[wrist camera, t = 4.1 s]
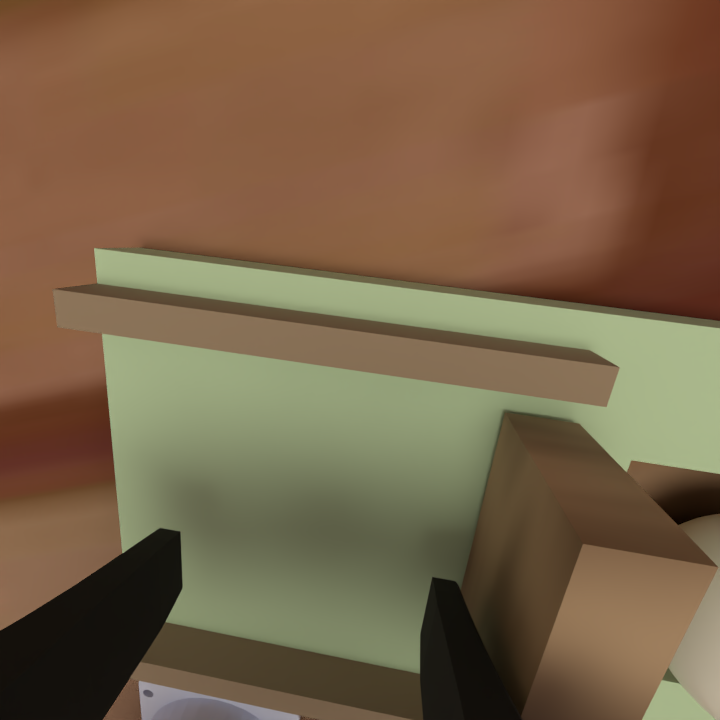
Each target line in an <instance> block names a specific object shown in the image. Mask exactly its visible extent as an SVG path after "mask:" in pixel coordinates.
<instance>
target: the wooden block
mask: <svg viewBox="0 0 720 720" xmlns="http://www.w3.org/2000/svg"><path fill="white" fill-rule="evenodd" d="M718 568H719V567H718V566H717V565H716V564H715V563H714V562H713V561H712V560H711V559H710V558H709V557H708V556H707V555H706V554H705V553H704V552H703V551H702V550H701V549H700V548H699V546H698V545H697V544H696V543H695V542H694V541H693V540H692V539H691V538H690V537H689V536H688V535H687V534H686V533H685V532H684V531H683V530H682V529H681V528H680V527H679V526H678V525H677V524H676V523H675V522H674V521H673V520H672V519H671V518H670V517H669V516H668V515H667V514H666V512H665V511H664V510H663V509H662V508H661V507H660V506H659V505H658V504H657V503H656V502H655V501H654V500H653V499H652V498H651V497H650V496H649V495H648V494H647V493H646V492H645V491H644V490H643V489H642V488H641V487H640V486H639V485H638V484H637V483H636V482H635V481H634V479H633V478H632V477H631V476H630V475H629V474H628V473H627V472H626V471H625V470H624V469H623V468H622V467H621V466H620V465H619V464H618V463H617V462H616V461H615V460H614V459H613V458H612V457H611V456H610V455H609V454H608V453H607V452H606V451H605V450H604V449H603V448H602V446H601V445H600V444H599V443H598V442H597V441H596V440H595V439H594V438H593V437H592V436H591V435H590V434H589V433H588V432H587V431H586V430H585V429H584V428H583V427H582V426H581V425H580V424H579V423H572V422H566V421H559V420H552V419H546V418H539V417H532V416H526V415H519V414H512V413H506V412H505V415H504V419H503V423H502V427H501V431H500V435H499V439H498V443H497V447H496V451H495V455H494V459H493V463H492V467H491V471H490V475H489V479H488V483H487V487H486V491H485V495H484V499H483V503H482V507H481V511H480V515H479V519H478V523H477V527H476V531H475V535H474V539H473V543H472V547H471V551H470V554H469V558H468V562H467V566H466V570H465V574H464V578H463V582H462V586H461V593H462V595H463V598H464V600H465V603H466V605H467V608H468V610H469V613H470V615H471V617H472V620H473V622H474V624H475V626H476V629H477V631H478V633H479V635H480V637H481V640H482V642H483V644H484V646H485V648H486V650H487V652H488V654H489V656H490V658H491V660H492V662H493V664H494V666H495V668H496V670H497V672H498V674H499V676H500V679H501V680H502V682H503V684H504V686H505V688H506V690H507V692H508V694H509V696H510V698H511V699H512V701H513V703H514V705H515V707H516V709H517V710H518V712H519V714H520V716H521V718H522V720H642V719H643V717H644V715H645V713H646V711H647V709H648V707H649V705H650V703H651V701H652V699H653V697H654V695H655V693H656V691H657V689H658V687H659V685H660V683H661V681H662V679H663V677H664V675H665V673H666V671H667V669H668V667H669V665H670V663H671V661H672V659H673V657H674V655H675V653H676V651H677V649H678V647H679V645H680V643H681V641H682V639H683V637H684V635H685V633H686V631H687V629H688V627H689V625H690V623H691V621H692V619H693V617H694V615H695V613H696V611H697V609H698V607H699V605H700V603H701V601H702V599H703V597H704V595H705V593H706V591H707V589H708V587H709V585H710V583H711V582H712V580H713V578H714V576H715V574H716V572H717V570H718Z"/></svg>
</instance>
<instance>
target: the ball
mask: <svg viewBox="0 0 720 720" xmlns="http://www.w3.org/2000/svg"><path fill="white" fill-rule="evenodd" d="M678 526H679V527H680V528H681V529H682V530H683V531H684V532H685V533H686V534H687V535H688V536H689V537H690V538H691V539H692V540H693V541H694V542H695V543H696V544H697V545H698V546H699V548H700V549H701V550H702V551H703V552H704V553H705V554H706V555H707V556H708V557H709V558H710V559H711V560H712V561H713V562H714V563H715V564H716V565H717V566H718V567H719V568H718V570H717V572H716V574H715V576H714V578H713V580H712V582H711V583H710V585H709V587H708V589H707V591H706V593H705V595H704V597H703V599H702V601H701V603H700V605H699V607H698V609H697V611H696V613H695V615H694V617H693V619H692V621H691V623H690V625H689V627H688V629H687V631H686V633H685V635H684V637H683V639H682V641H681V643H680V645H679V647H678V649H677V651H676V653H675V655H674V657H673V659H672V661H671V663H670V665H669V667H668V668H669V670H670V671H671V673H672V674H673V675H674V677H675V678H676V679H677V680H678V682H679V683H680V684H681V685H682V687H683V688H684V689H685V690H686V691H687V692H688V693H689V694H690V695H691V696H692V697H693V698H694V699H695V701H696V702H697V703H698V704H699V705H700V706H701V707H702V708H703V709H704V710H706V711H707V712H708V713H709V714H710V715H711V716H712V717H714V718H715V719H716V720H720V514H715V515H709V516H703V517H699V518H695V519H692V520H690V521H687V522H684V523H682V524H680V525H678Z"/></svg>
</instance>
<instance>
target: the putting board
mask: <svg viewBox="0 0 720 720" xmlns="http://www.w3.org/2000/svg"><path fill="white" fill-rule="evenodd" d="M94 251H95V262H96V273H97V284H90V285H82V286H74V287H66V288H58V289H53V297H54V304H55V312H56V320H57V327H60V328H66V329H73V330H80V331H87V332H94V333H101V334H102V338H103V349H104V359H105V370H106V381H107V392H108V403H109V414H110V424H111V435H112V446H113V457H114V468H115V478H116V489H117V500H118V511H119V522H120V533H121V543H122V553H124V552H125V551H127V550H128V549H130V548H131V547H132V546H134V545H135V544H137V543H138V542H140V541H141V540H143V539H144V538H146V537H147V536H148V535H150V534H151V533H153V532H154V531H156V530H157V529H159V528H164V529H170V530H175V531H181V556H182V581H183V588H182V590H181V592H180V594H179V596H178V598H177V600H176V602H175V604H174V606H173V608H172V610H171V612H170V614H169V616H168V618H167V620H166V622H165V624H164V625H163V627H162V629H161V631H160V632H159V634H158V635H157V637H156V638H155V640H154V642H153V643H152V645H151V646H150V648H149V649H148V651H147V652H146V654H145V656H144V657H143V659H142V660H141V662H140V663H139V665H138V666H137V668H136V669H135V671H134V672H133V674H132V675H131V677H130V679H133V680H138V681H142V682H147V683H152V684H156V685H161V686H166V687H170V688H175V689H179V690H184V691H189V692H193V693H198V694H202V695H207V696H212V697H216V698H221V699H226V700H230V701H235V702H239V703H244V704H249V705H253V706H258V707H262V708H267V709H272V710H276V711H281V712H286V713H290V714H295V715H299V716H304V717H309V718H313V719H318V720H423V711H422V699H421V686H420V632H421V628H422V623H423V618H424V614H425V609H426V604H427V599H428V595H429V590H430V585H431V581H432V577H436V578H441V579H447V580H452V581H456V583H457V584H458V585H459V588H460V590H461V586H462V582H463V578H464V574H465V570H466V566H467V562H468V558H469V554H470V551H471V547H472V543H473V539H474V535H475V531H476V527H477V523H478V519H479V515H480V511H481V507H482V503H483V499H484V495H485V491H486V487H487V483H488V479H489V475H490V471H491V467H492V463H493V459H494V455H495V451H496V447H497V443H498V439H499V435H500V431H501V427H502V423H503V419H504V415H505V412H506V413H512V414H519V415H526V416H532V417H539V418H546V419H552V420H559V421H566V422H572V423H579V424H580V425H581V426H582V427H583V428H584V429H585V430H586V431H587V432H588V433H589V434H590V435H591V436H592V437H593V438H594V439H595V440H596V441H597V442H598V443H599V444H600V445H601V446H602V448H603V449H604V450H605V451H606V452H607V453H608V454H609V455H610V456H611V457H612V458H613V459H614V460H615V461H616V462H617V463H618V464H619V465H620V466H621V467H622V468H623V469H624V470H625V471H626V472H627V470H628V468H629V465H630V462H631V460H633V461H640V462H646V463H652V464H659V465H665V466H672V467H678V468H685V469H691V470H698V471H704V472H711V473H717V474H720V321H715V320H707V319H699V318H691V317H684V316H676V315H668V314H660V313H652V312H644V311H636V310H628V309H620V308H613V307H605V306H597V305H589V304H581V303H573V302H565V301H557V300H549V299H542V298H534V297H526V296H518V295H510V294H502V293H494V292H486V291H478V290H470V289H463V288H455V287H447V286H439V285H431V284H423V283H415V282H407V281H399V280H392V279H384V278H376V277H368V276H360V275H352V274H344V273H336V272H328V271H321V270H313V269H305V268H297V267H289V266H281V265H273V264H265V263H257V262H249V261H242V260H234V259H226V258H218V257H210V256H202V255H194V254H186V253H178V252H171V251H163V250H155V249H147V248H94ZM642 720H716V719H715V718H714V717H712V716H711V715H710V714H709V713H708V712H707V711H706V710H704V709H703V708H702V707H701V706H700V705H699V704H698V703H697V702H696V701H695V699H694V698H693V697H692V696H691V695H690V694H689V693H688V692H687V691H686V690H685V689H684V688H683V687H682V685H681V684H680V683H679V682H678V680H677V679H676V678H675V677H674V675H673V674H672V673H671V671H670V670H669V668H668V669H667V671H666V673H665V675H664V677H663V679H662V681H661V683H660V685H659V687H658V689H657V691H656V693H655V695H654V697H653V699H652V701H651V703H650V705H649V707H648V709H647V711H646V713H645V715H644V717H643V719H642Z"/></svg>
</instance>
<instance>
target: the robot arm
mask: <svg viewBox="0 0 720 720" xmlns="http://www.w3.org/2000/svg"><path fill="white" fill-rule="evenodd" d="M182 588H183V581H182V556H181V531H175V530H170V529H164V528H159V529H157V530H156V531H154V532H153V533H151V534H150V535H148V536H147V537H146V538H144V539H143V540H141V541H140V542H138V543H137V544H135V545H134V546H132V547H131V548H130V549H128V550H127V551H125V552H124V553H122V554H121V555H119V556H118V557H116V558H115V559H113V560H112V561H111V562H109V563H108V564H106V565H105V566H103V567H102V568H100V569H99V570H97V571H96V572H94V573H93V574H91V575H90V576H88V577H87V578H85V579H84V580H82V581H81V582H79V583H78V584H76V585H75V586H73V587H72V588H70V589H68V590H67V591H65V592H64V593H62V594H60V595H59V596H57V597H55V598H54V599H52V600H51V601H49V602H47V603H46V604H44V605H43V606H41V607H39V608H38V609H36V610H35V611H33V612H31V613H30V614H28V615H27V616H25V617H23V618H22V619H20V620H18V621H16V622H15V623H13V624H11V625H10V626H8V627H6V628H4V629H3V630H1V631H0V720H103V718H104V717H105V715H106V714H107V712H108V711H109V709H110V708H111V706H112V705H113V703H114V701H115V700H116V698H117V697H118V695H119V694H120V692H121V691H122V689H123V688H124V686H125V685H126V683H127V682H128V680H129V679H130V677H131V675H132V674H133V672H134V671H135V669H136V668H137V666H138V665H139V663H140V662H141V660H142V659H143V657H144V656H145V654H146V652H147V651H148V649H149V648H150V646H151V645H152V643H153V642H154V640H155V638H156V637H157V635H158V634H159V632H160V631H161V629H162V627H163V625H164V624H165V622H166V620H167V618H168V616H169V614H170V612H171V610H172V608H173V606H174V604H175V602H176V600H177V598H178V596H179V594H180V592H181V590H182ZM420 686H421V699H422V711H423V720H522V718H521V716H520V714H519V712H518V710H517V709H516V707H515V705H514V703H513V701H512V699H511V698H510V696H509V694H508V692H507V690H506V688H505V686H504V684H503V682H502V680H501V679H500V676H499V674H498V672H497V670H496V668H495V666H494V664H493V662H492V660H491V658H490V656H489V654H488V652H487V650H486V648H485V646H484V644H483V642H482V640H481V637H480V635H479V633H478V631H477V629H476V626H475V624H474V622H473V620H472V617H471V615H470V613H469V610H468V608H467V605H466V603H465V600H464V598H463V595H462V593H461V590H460V588H459V585H458V584H457V583H456V581H452V580H447V579H441V578H436V577H432V581H431V585H430V590H429V595H428V599H427V604H426V609H425V614H424V618H423V623H422V628H421V632H420ZM139 694H140V705H141V716H142V720H300V718H301V716H299V715H295V714H290V713H286V712H281V711H276V710H272V709H267V708H262V707H258V706H253V705H249V704H244V703H239V702H235V701H230V700H226V699H221V698H216V697H212V696H207V695H202V694H198V693H193V692H189V691H184V690H179V689H175V688H170V687H166V686H161V685H156V684H152V683H147V682H142V681H139Z"/></svg>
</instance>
